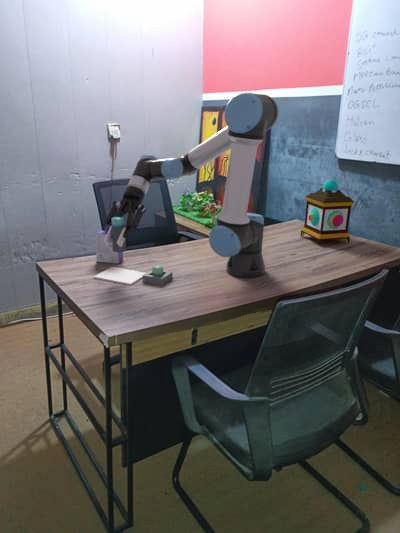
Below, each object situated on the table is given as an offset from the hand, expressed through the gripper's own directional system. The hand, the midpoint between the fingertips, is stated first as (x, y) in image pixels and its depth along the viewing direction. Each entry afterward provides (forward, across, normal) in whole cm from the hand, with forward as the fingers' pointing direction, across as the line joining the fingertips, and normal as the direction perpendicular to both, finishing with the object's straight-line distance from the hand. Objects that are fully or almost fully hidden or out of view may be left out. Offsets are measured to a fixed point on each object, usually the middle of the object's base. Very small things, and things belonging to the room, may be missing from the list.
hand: (112, 243), depth 155 cm
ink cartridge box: (-2, +13, -22) cm, 25 cm away
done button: (+3, -15, -13) cm, 20 cm away
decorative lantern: (-55, -62, -74) cm, 111 cm away
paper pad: (+7, -1, -12) cm, 14 cm away
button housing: (+5, -15, -14) cm, 21 cm away
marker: (0, 0, -5) cm, 5 cm away
